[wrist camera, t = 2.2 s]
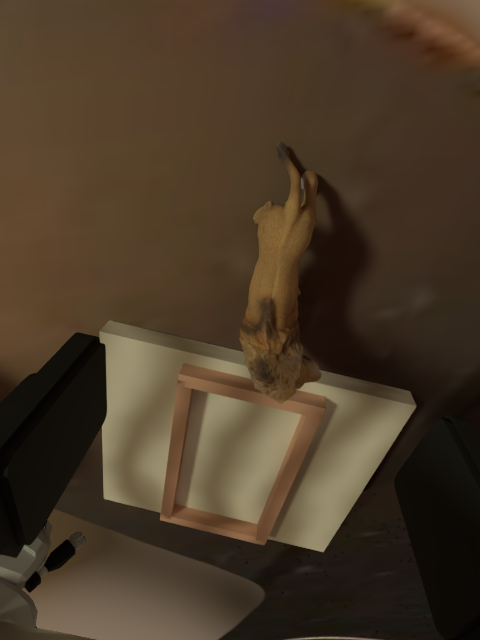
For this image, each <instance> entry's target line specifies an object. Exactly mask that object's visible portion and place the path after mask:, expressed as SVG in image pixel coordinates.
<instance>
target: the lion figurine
mask: <svg viewBox="0 0 480 640" xmlns="http://www.w3.org/2000/svg"><path fill="white" fill-rule="evenodd" d="M277 149H278V154H279V160H280V162H281V163H282V164H283V165H284V167H285V168H286V170H287V171H288V173H289V175H290V180H291V190H290V194H289V198H288V201H287V202H286V203H285V205H284V206H283V205H274V203H273V202H272V201H268V202H267V203H266V204H265V205H264V206H263V207H261V208H259V209H258V210H257V211H256V213H255V214H254V217H253V220H254V222H255V224H256V225H258V232H257V236H258V239H259V259H258V261H257V264H256V266H255V270H254V273H253V277H252V280H251V283H250V288H249V304H248V306H247V309H246V313H245V318H244V319H243V321H242V323H241V326H240V338H239V339H240V342H241V343H242V347H243V352H244V356H245V361H244V363H245V365H246V367H247V368H248V371H249V373H250V376H251V379H252V381H253V382H254V387H255V388H256V389H259V390H260V391H262V393H263V394H264V395H266V396H267V397H268V398H272V399H274V400H275V401H277V402H278V403H279V404H283V402H285V401H287V399H288V398H289V397H292V395H294V394H295V393H296V389H300V388H301V387H302V386H303V385H304V383H309V382H317V381H318V380H319V379H320V378H321V372H320V371H319V366H318V365H317V364H316V363H315V362H314V361H312V360H310V358H309V357H306V356H304V355H302V354H303V346H302V343H301V341H300V325H299V323H298V320H297V318H298V300H297V298H298V296H299V295H300V293H301V291H300V289H299V288H298V260H299V259H300V257H301V256H302V254H303V253H304V251H305V250H306V249H307V247H308V246H309V244H310V241H311V237H312V233H313V229H314V227H315V225H316V221H317V217H316V191H317V187H318V177H317V174H316V173H315V172H313V171H306V172H305V173H304V174H303V176H302V178H300V174H299V172H298V170H297V169H296V167H295V166H294V164H293V163H292V161H291V160H290V157H289V151H288V150H287V148H286V145H285V144H284V143H283V142H278V143H277ZM301 188H302V190H304V201H303V203H302V205H301Z"/></svg>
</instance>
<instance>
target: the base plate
mask: <svg viewBox="0 0 480 640" xmlns="http://www.w3.org/2000/svg"><path fill="white" fill-rule="evenodd" d="M100 343H103V344H105V347H106V382H107V415H106V419H105V421H104V423H103V425H102V444H103V483H104V499H107V500H111V501H115V502H119V503H123V504H127V505H132V506H136V507H140V508H144V509H148V510H152V511H156V512H160V513H161V516H160V520H162V521H166V522H170V523H174V524H179V525H183V526H187V527H191V528H195V529H199V530H203V531H207V532H211V533H216V534H220V535H224V536H228V537H232V538H236V539H240V540H244V541H248V542H252V543H257V544H261V545H265V543H266V541H267V539H271V540H275V541H280V542H284V543H288V544H292V545H296V546H300V547H304V548H308V549H312V550H317V551H321V552H324V550H325V549H326V547H327V546H328V544H329V542H330V541H331V539H332V538H333V536H334V535H335V533H336V531H337V530H338V528H339V527H340V525H341V524H342V522H343V520H344V519H345V517H346V516H347V514H348V513H349V511H350V510H351V508H352V506H353V505H354V503H355V502H356V500H357V499H358V497H359V495H360V494H361V492H362V491H363V489H364V488H365V486H366V485H367V483H368V481H369V480H370V478H371V477H372V475H373V474H374V472H375V470H376V469H377V467H378V466H379V464H380V463H381V461H382V460H383V458H384V456H385V455H386V453H387V452H388V450H389V449H390V447H391V445H392V444H393V442H394V441H395V439H396V438H397V436H398V434H399V433H400V431H401V430H402V428H403V427H404V425H405V424H406V422H407V420H408V419H409V417H410V416H411V414H412V413H413V411H414V409H415V408H416V404H415V401H414V399H413V397H412V395H411V392H410V391H407V390H403V389H399V388H394V387H390V386H386V385H382V384H377V383H373V382H369V381H365V380H361V379H356V378H352V377H348V376H344V375H339V374H335V373H331V372H327V371H322V370H319V371H320V372H321V378H320V379H319V380H318V381H317V382H309V383H304V385H303V386H302V387H301V388H300V389H296V393H295V394H294V395H292V397H289V398H288V399H287V401H285V402H283V404H279V403H278V402H277V401H275V400H274V399H272V398H268V397H267V396H266V395H264V394H263V393H262V391H260V390H259V389H256V388H255V387H254V382H253V381H252V379H251V376H250V373H249V371H248V368H247V367H246V365H245V363H244V361H245V356H244V352H242V351H237V350H233V349H229V348H225V347H220V346H216V345H212V344H208V343H203V342H199V341H195V340H191V339H187V338H182V337H178V336H174V335H170V334H165V333H161V332H157V331H153V330H148V329H144V328H140V327H136V326H131V325H127V324H123V323H119V322H114V321H110V320H109V322H108V323H107V324H106V325H105V326H104V327H103V328H102V329H101V330H100Z"/></svg>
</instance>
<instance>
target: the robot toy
mask: <svg viewBox="0 0 480 640" xmlns="http://www.w3.org/2000/svg"><path fill="white" fill-rule="evenodd" d="M46 522H47V523H45V524H46V526H45V524H44V526H45V529H44V530H43V528H44V526H43V528H42V529H41V531H40V533H39V534H38V536H37V538H36V539H35V541H34V542H33V543H32V544H31V545H24V547H23V548H22V550H21V552H20V553H19V555H18V557H17V558H13V557H9V556H4V555H0V621H3V622H8V623H14V624H19V625H24V626H29V627H34V628H37V627H36V619H37V609H36V607H35V604H34V602H33V600H32V599H31V598H30V596H29V595H27V594H26V593H25V592H24V591H23V590H22V588H24V587H25V588H26V590H27V591H28V592H31V591H32V590H34V589H35V588H36V587H37V586H38V585H39V584H40V583H41V577H43V576H44V575H45V574H46V573H47V572H50V571H53V570H55V569H58V568H60V567H61V566H63V565H64V564H65V563H66V562H67V561H68V560H69V559H70V558H71V557H72V556H73V555H75V550H77V549H80V548H82V546H83V545H84V544H85V537H84V536H83V538H82V539H81V540H80V541H79V542H78V540H77V539H78V538H79V537H80V536H81V535H82V533H81V532H76V533H74V534H73V535H71V537H70V539H69V541H68V540H65V541H64V542H63V543H62V544H61V545H59V546H58V547H57V548H56V549H55V550H54V551H53V552H51V553H50V555H49V557H48V559H47V560H46V563H45V564H44V566H43V567H42V568H41V569H40V570H39V571H38V569H39V568H40V566H41V565H42V563H43V562H44V561H45V559H46V556H47V554H48V551H49V547H50V543H51V542H50V532H51V528H52V526H51V524H50V523H49V522H48V521H46ZM37 571H38V572H37Z"/></svg>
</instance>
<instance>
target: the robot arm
mask: <svg viewBox="0 0 480 640" xmlns="http://www.w3.org/2000/svg"><path fill="white" fill-rule="evenodd" d="M106 415H107V382H106V347H105V344H103V343H100V339H99V337H96V336H92V335H87V334H83V333H75V334H74V335H73V336H72V337H71V338H70V339H69V340H68V341H67V342H66V343H65V344H64V345H63V346H62V347H61V348H60V349H59V350H58V351H57V353H56V354H55V355H54V356H53V357H52V358H51V359H50V360H49V361H48V362H47V363H46V364H45V365H44V366H43V367H42V368H41V369H40V370H39V371H38V372H37V373H33V374H31V375H29V376H28V377H26V378H25V379H24V380H23V381H22V382H21V383H20V384H19V385H18V386H17V387H16V388H15V389H14V390H13V391H12V392H11V393H10V394H9V395H8V396H7V397H6V398H5V399H4V400H3V401H2V402H1V404H0V555H4V556H9V557H13V558H17V557H18V555H19V553H20V552H21V550H22V548H23V547H24V545H31V544H32V543H33V542H34V541H35V539H36V538H37V536H38V534H39V533H40V531H41V529H42V528H43V526H44V524H45V523H46V521H47V519H48V517H49V516H50V514H51V512H52V510H53V509H54V507H55V505H56V504H57V502H58V500H59V499H60V497H61V495H62V493H63V492H64V490H65V488H66V487H67V485H68V483H69V481H70V480H71V478H72V476H73V475H74V473H75V471H76V470H77V468H78V466H79V464H80V463H81V461H82V459H83V458H84V456H85V454H86V452H87V451H88V449H89V447H90V446H91V444H92V442H93V440H94V439H95V437H96V435H97V434H98V432H99V430H100V428H101V427H102V425H103V423H104V421H105V419H106ZM394 485H395V490H396V494H397V497H398V500H399V504H400V507H401V511H402V514H403V517H404V521H405V524H406V528H407V531H408V534H409V538H410V541H411V545H412V548H413V552H414V555H415V558H416V562H417V565H418V569H419V572H420V575H421V579H422V582H423V586H424V589H425V592H426V596H427V599H428V603H429V606H430V609H431V613H432V616H433V620H434V623H435V626H436V628H437V630H438V632H439V633H440V634H441V636H443V637H444V640H480V433H479V431H478V430H477V428H476V427H475V425H474V424H473V422H472V421H470V420H469V419H465V418H460V417H456V416H451V415H445V416H443V417H442V418H441V419H437V420H436V421H435V422H434V423H433V424H432V426H431V427H430V429H429V430H428V431H427V433H426V434H425V436H424V437H423V438H422V440H421V441H420V442H419V444H418V445H417V447H416V448H415V449H414V451H413V452H412V454H411V455H410V456H409V458H408V459H407V461H406V462H405V463H404V465H403V466H402V468H401V469H400V470H399V472H398V473H397V475H396V477H395V482H394ZM0 640H95V639H90V638H85V637H81V636H76V635H71V634H66V633H60V632H55V631H50V630H44V629H40V628H34V627H29V626H24V625H19V624H14V623H8V622H3V621H0Z"/></svg>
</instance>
